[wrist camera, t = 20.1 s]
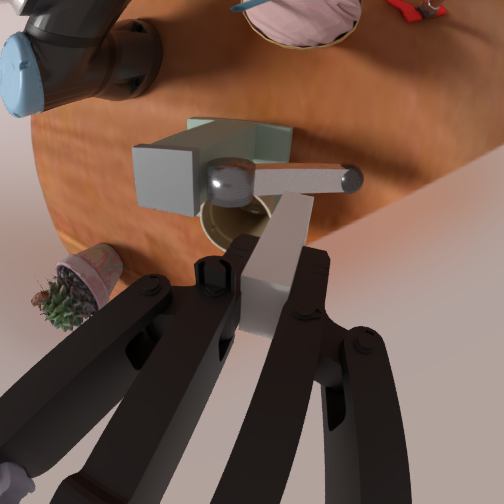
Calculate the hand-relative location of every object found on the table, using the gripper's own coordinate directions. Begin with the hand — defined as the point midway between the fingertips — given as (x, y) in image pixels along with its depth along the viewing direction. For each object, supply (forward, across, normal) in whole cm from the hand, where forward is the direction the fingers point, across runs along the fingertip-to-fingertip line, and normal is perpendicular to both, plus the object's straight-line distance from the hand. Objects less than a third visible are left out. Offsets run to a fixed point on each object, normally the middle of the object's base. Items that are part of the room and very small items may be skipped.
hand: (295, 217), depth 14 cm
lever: (+13, -3, -2) cm, 13 cm away
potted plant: (+25, -46, -36) cm, 63 cm away
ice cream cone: (+25, -3, +15) cm, 30 cm away
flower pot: (+23, -8, -10) cm, 26 cm away
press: (+25, -12, -8) cm, 29 cm away
